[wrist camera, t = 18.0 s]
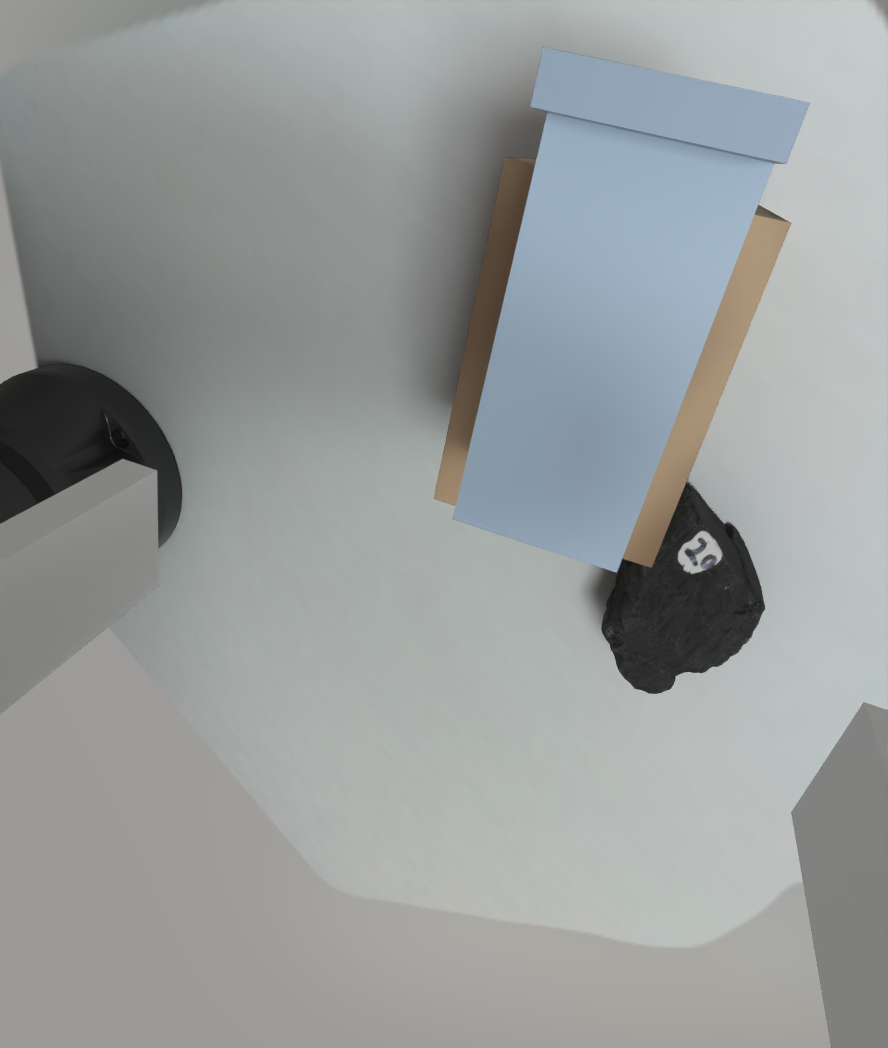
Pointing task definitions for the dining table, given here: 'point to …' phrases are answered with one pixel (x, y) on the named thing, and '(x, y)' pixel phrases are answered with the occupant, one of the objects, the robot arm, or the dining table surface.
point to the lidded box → (612, 294)
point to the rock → (684, 601)
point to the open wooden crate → (701, 391)
